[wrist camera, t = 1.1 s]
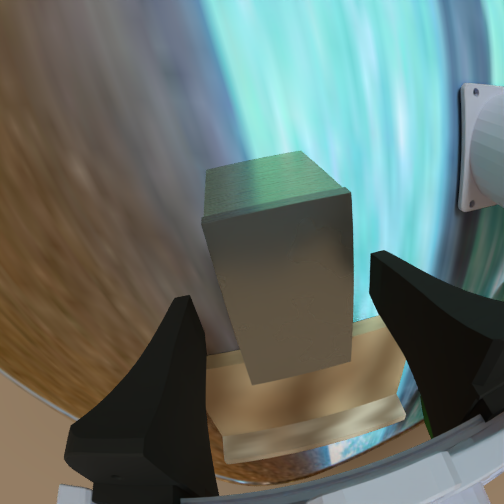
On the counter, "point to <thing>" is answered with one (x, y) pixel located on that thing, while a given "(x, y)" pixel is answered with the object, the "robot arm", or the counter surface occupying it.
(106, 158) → the counter surface
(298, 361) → the tea tin
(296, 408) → the shelf board
